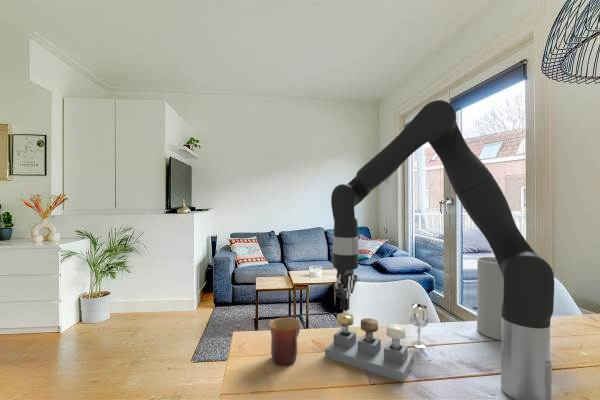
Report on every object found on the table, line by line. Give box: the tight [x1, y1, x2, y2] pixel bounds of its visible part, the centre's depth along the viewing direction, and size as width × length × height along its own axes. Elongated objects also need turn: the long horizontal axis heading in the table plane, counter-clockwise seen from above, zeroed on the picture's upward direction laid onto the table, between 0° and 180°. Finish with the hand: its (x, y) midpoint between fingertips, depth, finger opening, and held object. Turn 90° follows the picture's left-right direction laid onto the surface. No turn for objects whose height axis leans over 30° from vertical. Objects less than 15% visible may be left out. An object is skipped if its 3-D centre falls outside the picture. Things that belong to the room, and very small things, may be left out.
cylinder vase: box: [476, 256, 504, 341], centre depth 104 cm, size 12×12×25 cm
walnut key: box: [360, 317, 379, 344], centre depth 87 cm, size 5×5×6 cm
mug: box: [268, 317, 301, 366], centre depth 88 cm, size 12×9×10 cm
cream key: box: [386, 323, 406, 351], centre depth 83 cm, size 5×5×6 cm
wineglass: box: [408, 303, 430, 349], centre depth 96 cm, size 6×6×12 cm
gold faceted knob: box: [336, 312, 354, 337], centre depth 91 cm, size 5×5×6 cm
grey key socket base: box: [324, 328, 415, 383], centre depth 87 cm, size 22×12×5 cm, turn 57°
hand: (344, 309), depth 91 cm, fingers closed
